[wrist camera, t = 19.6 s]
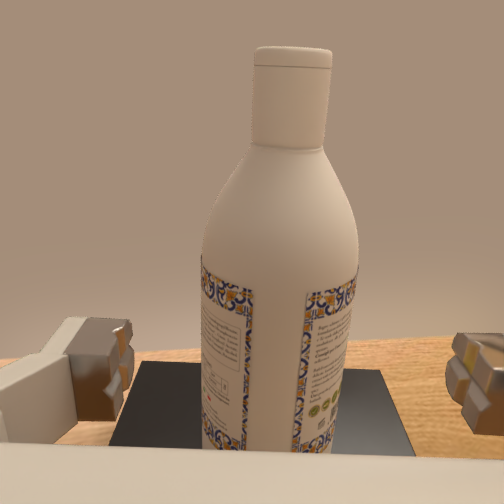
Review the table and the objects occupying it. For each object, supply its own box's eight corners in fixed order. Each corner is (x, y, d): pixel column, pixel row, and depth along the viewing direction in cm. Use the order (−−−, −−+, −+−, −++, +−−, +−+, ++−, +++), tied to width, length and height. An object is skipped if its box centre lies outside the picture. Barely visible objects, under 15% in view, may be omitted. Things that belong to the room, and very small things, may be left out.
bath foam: (323, 409, 27) (369, 56, 19) (336, 515, 20) (414, 47, 13) (212, 401, 27) (214, 50, 19) (191, 502, 21) (182, 37, 13)
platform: (63, 668, 19) (48, 596, 17) (145, 415, 33) (141, 360, 31) (454, 680, 19) (482, 611, 17) (369, 423, 33) (380, 369, 31)
